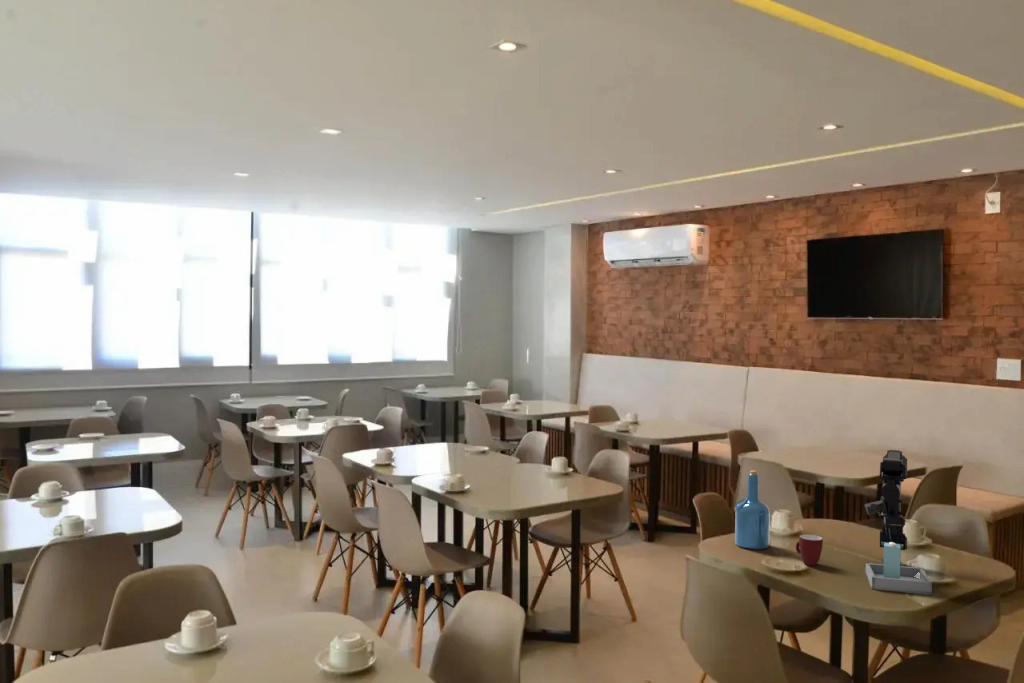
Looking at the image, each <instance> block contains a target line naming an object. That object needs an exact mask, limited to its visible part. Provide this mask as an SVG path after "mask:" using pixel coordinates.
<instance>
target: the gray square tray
mask: <svg viewBox="0 0 1024 683" xmlns="http://www.w3.org/2000/svg"><path fill="white" fill-rule="evenodd" d="M921 568H922V567H915V566H904V565H903V566H900V579H895V578H884V577H883V572H884V565H883V563H882V564H881V563H871V562H866V563H865V572H864V574H865V576H866V578H867V581H868V583H869V585H870V588H871V589H872V590H878V591H888V592H897V593H907V594H908V593H910V594H917V595H926V596H932V595H933V582H932V580H930V578H929V577H928V575H927V574H926V572H925V571H924V569H923V568H922V569H921ZM918 572H919V573H920V579H919V578H916V577H914V576H915V575H916V574H917V573H918Z"/></svg>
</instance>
